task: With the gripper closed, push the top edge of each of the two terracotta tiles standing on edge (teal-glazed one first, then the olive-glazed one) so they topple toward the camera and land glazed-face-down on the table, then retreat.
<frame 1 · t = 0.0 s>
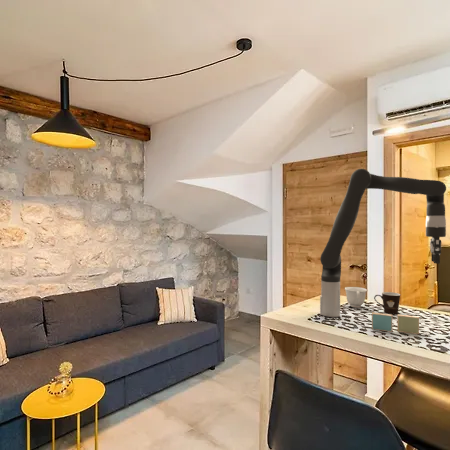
hand: (435, 262, 144), 29 cm above the counter, fingers open, 8 cm apart
teacup: (356, 307, 180), on the counter
tile a: (381, 330, 141), on the counter
tile b: (408, 332, 138), on the counter
coffee mug: (388, 312, 170), on the counter
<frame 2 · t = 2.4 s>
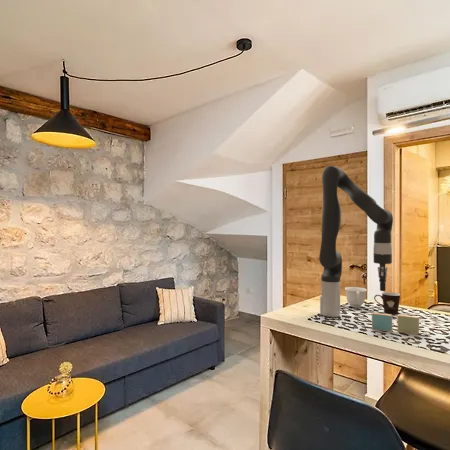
hand: (382, 290, 147), 16 cm above the counter, fingers closed
nothing on the counter moved.
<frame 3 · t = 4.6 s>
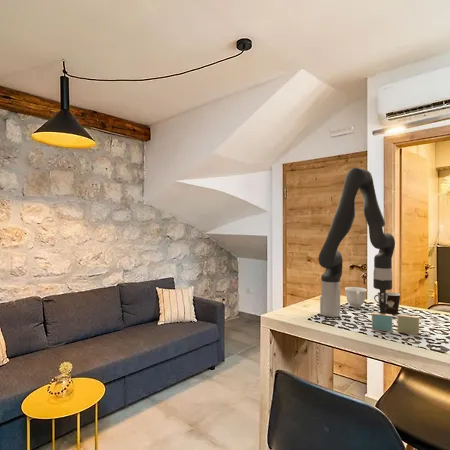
hand: (382, 317, 143), 5 cm above the counter, fingers closed
tile a: (381, 329, 141), on the counter, touching gripper
everything else where it was.
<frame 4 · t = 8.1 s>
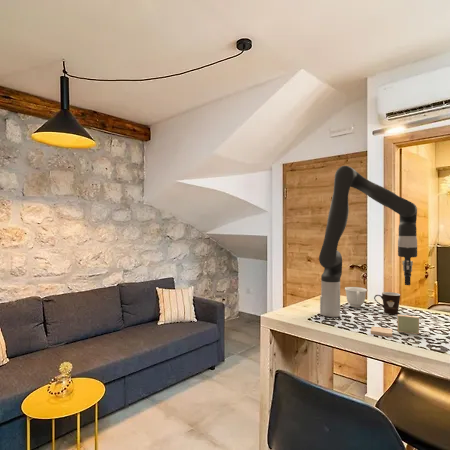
hand: (407, 284, 144), 19 cm above the counter, fingers closed
tile a: (381, 329, 140), on the counter, tilted 90°
everything else where it was.
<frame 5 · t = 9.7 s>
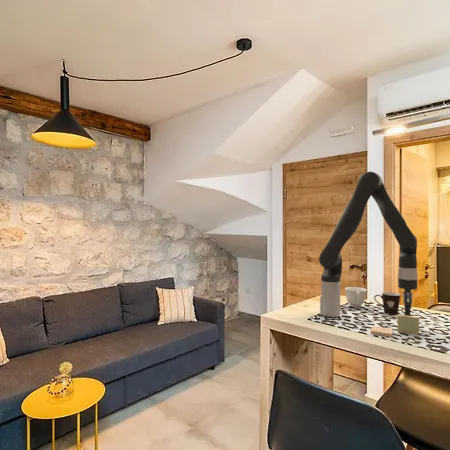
hand: (407, 316, 144), 5 cm above the counter, fingers closed
nothing on the counter moved.
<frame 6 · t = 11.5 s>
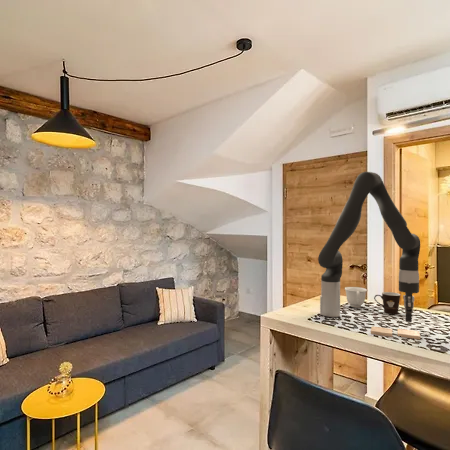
hand: (408, 321, 136), 5 cm above the counter, fingers closed
tile b: (408, 331, 137), on the counter, tilted 90°
everything else where it was.
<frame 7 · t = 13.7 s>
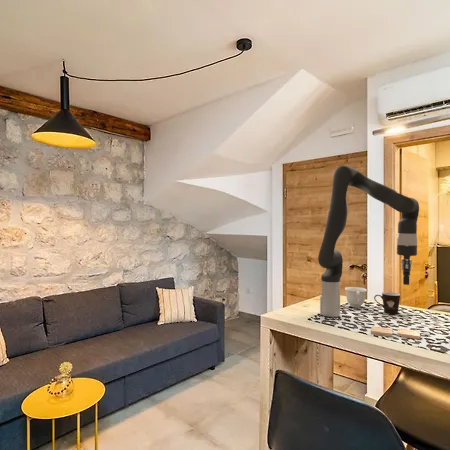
hand: (406, 284, 138), 20 cm above the counter, fingers closed
nothing on the counter moved.
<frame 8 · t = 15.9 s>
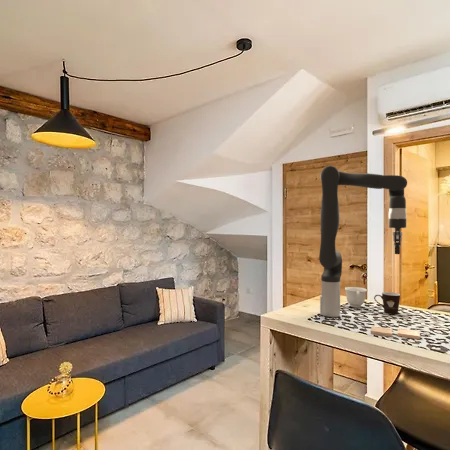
hand: (397, 254, 155), 32 cm above the counter, fingers closed
nothing on the counter moved.
at the end: tile a tilted 90°; tile b tilted 90°; tile a on the counter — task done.
